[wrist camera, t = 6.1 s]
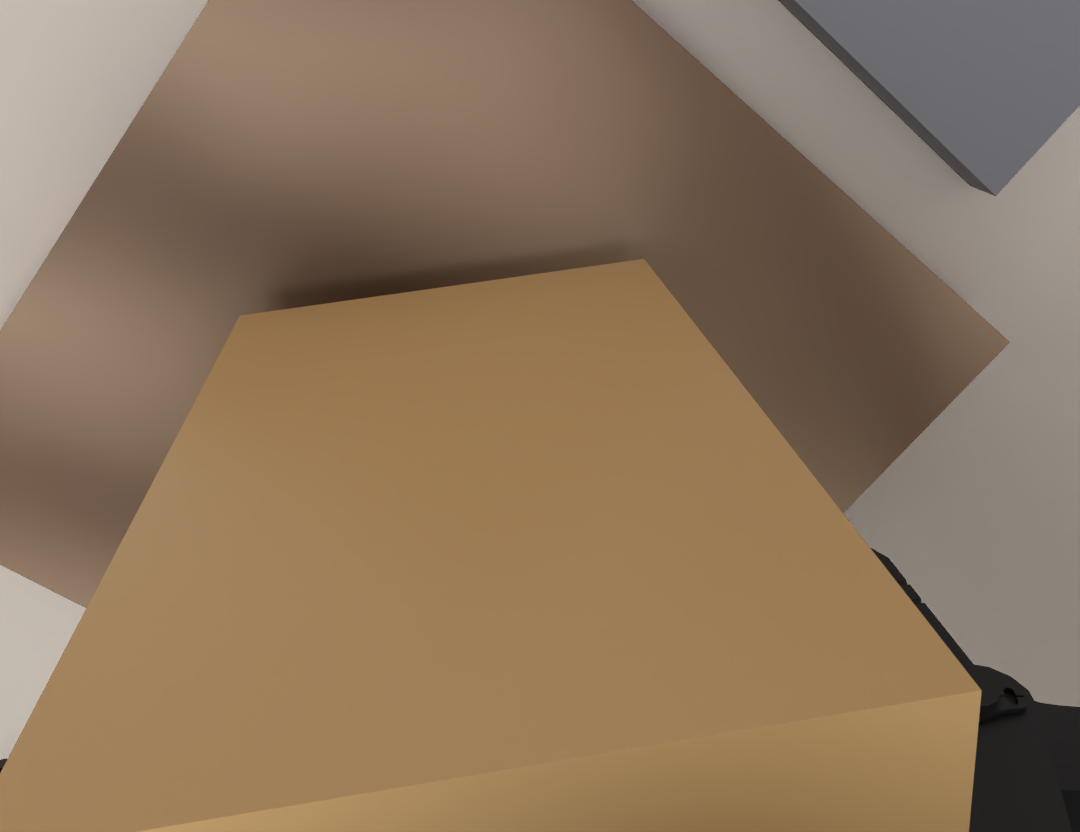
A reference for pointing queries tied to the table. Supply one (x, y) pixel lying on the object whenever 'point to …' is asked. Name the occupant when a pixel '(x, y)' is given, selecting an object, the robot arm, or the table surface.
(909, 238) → the table surface
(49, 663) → the table surface
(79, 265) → the wooden base with post
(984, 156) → the pad
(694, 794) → the tan tall block
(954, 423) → the table surface
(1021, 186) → the table surface
